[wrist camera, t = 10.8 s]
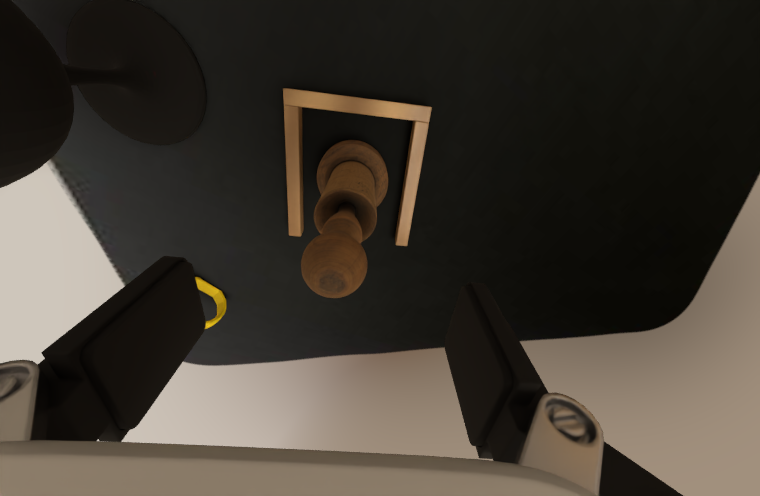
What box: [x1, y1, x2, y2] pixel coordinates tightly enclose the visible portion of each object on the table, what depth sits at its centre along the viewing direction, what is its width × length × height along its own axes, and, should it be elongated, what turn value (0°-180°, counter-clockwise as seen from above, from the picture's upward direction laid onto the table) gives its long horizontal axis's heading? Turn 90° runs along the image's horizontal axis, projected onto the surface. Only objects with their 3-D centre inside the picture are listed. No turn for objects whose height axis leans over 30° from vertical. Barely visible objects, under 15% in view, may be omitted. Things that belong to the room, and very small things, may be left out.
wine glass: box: [0, 0, 206, 188], centre depth 15 cm, size 10×10×20 cm
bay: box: [283, 88, 432, 246], centre depth 27 cm, size 12×13×2 cm
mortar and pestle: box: [301, 140, 388, 298], centre depth 20 cm, size 7×6×18 cm
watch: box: [195, 277, 226, 329], centre depth 31 cm, size 6×3×6 cm, turn 43°
